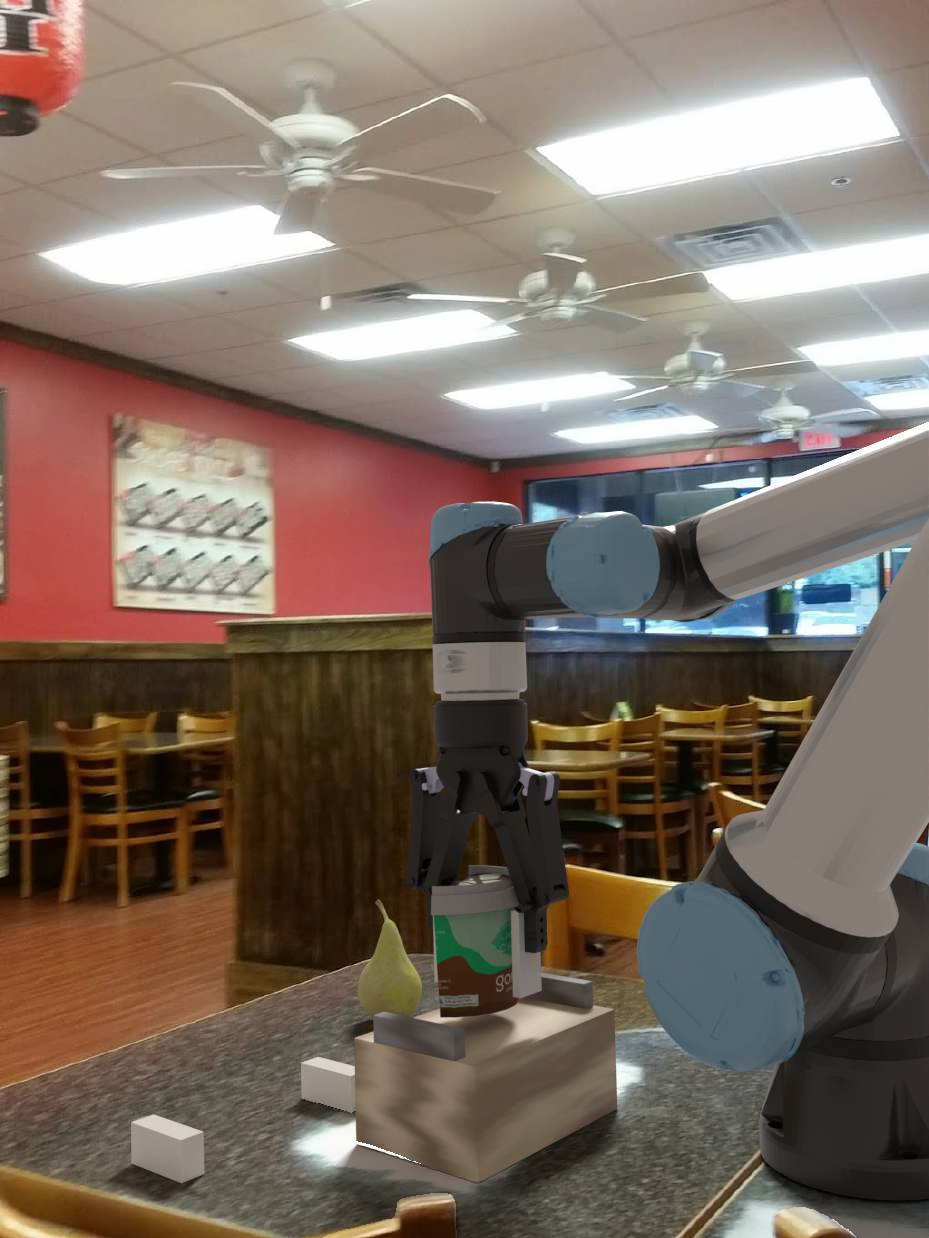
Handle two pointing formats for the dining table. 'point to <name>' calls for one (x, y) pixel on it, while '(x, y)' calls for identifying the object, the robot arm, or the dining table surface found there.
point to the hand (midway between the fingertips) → (487, 985)
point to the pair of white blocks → (183, 1147)
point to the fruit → (389, 976)
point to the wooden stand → (486, 1080)
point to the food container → (474, 942)
